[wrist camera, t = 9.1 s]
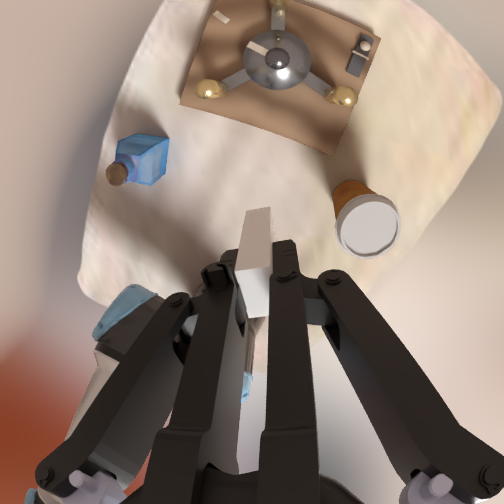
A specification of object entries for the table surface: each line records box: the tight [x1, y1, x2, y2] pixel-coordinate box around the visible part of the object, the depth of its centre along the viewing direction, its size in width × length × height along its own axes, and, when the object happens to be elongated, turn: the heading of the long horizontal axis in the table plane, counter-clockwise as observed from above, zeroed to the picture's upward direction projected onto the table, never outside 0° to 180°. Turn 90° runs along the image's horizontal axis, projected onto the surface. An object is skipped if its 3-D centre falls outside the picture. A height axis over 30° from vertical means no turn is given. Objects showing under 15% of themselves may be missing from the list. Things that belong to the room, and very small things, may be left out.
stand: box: [179, 0, 381, 156], centre depth 33 cm, size 21×24×4 cm
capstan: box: [194, 0, 358, 107], centre depth 29 cm, size 16×18×10 cm
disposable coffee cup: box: [333, 180, 400, 259], centre depth 40 cm, size 10×10×12 cm
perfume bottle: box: [106, 134, 169, 186], centre depth 38 cm, size 6×6×12 cm
